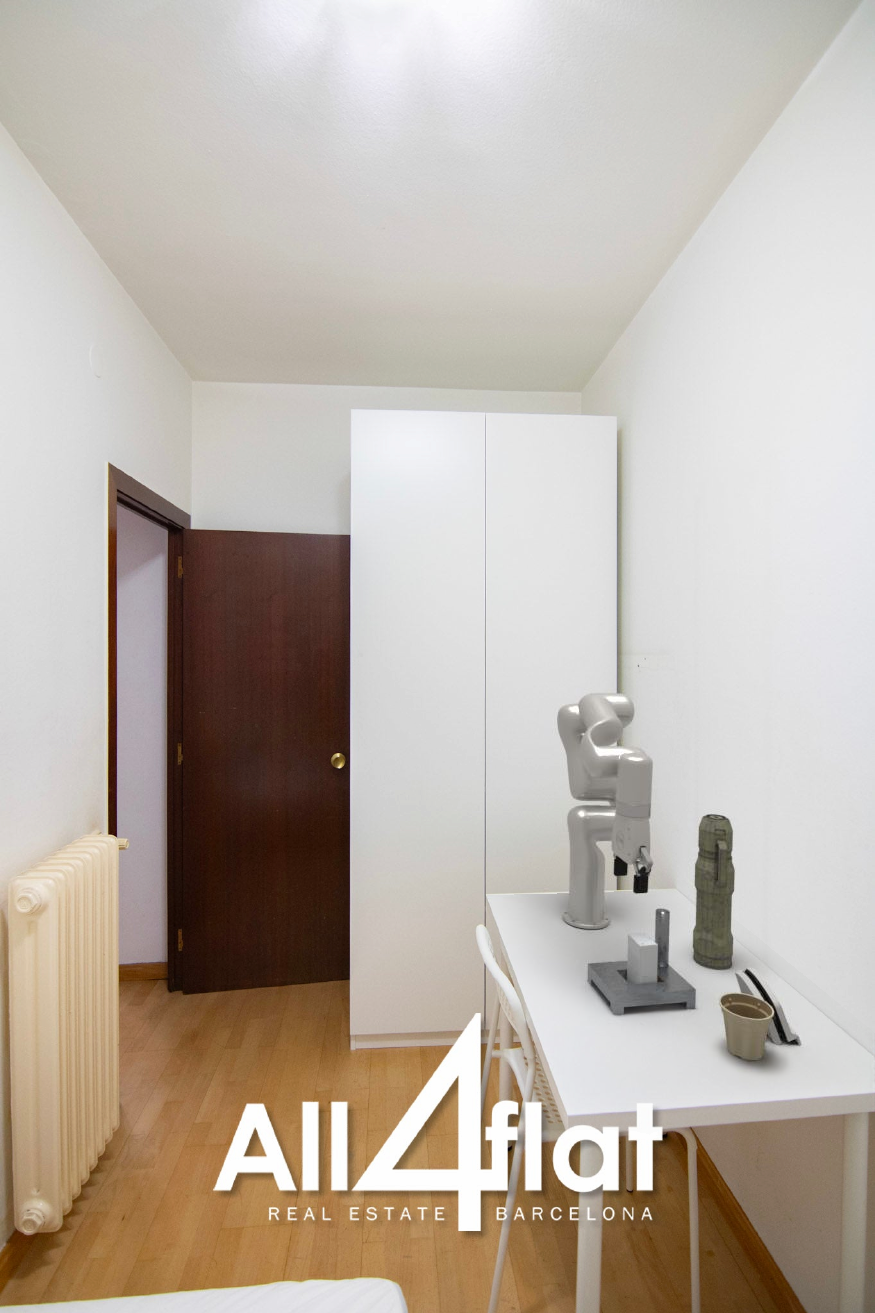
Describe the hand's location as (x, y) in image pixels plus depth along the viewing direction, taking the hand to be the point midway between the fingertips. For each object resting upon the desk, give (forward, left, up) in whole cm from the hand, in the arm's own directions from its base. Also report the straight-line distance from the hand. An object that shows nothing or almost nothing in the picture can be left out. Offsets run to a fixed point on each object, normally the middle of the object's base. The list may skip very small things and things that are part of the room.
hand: (630, 883), depth 150 cm
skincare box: (+6, 0, -22) cm, 23 cm away
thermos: (-6, +25, -22) cm, 34 cm away
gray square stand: (+6, 0, -22) cm, 23 cm away
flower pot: (+28, +10, -22) cm, 37 cm away
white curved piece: (+19, +20, -22) cm, 36 cm away
